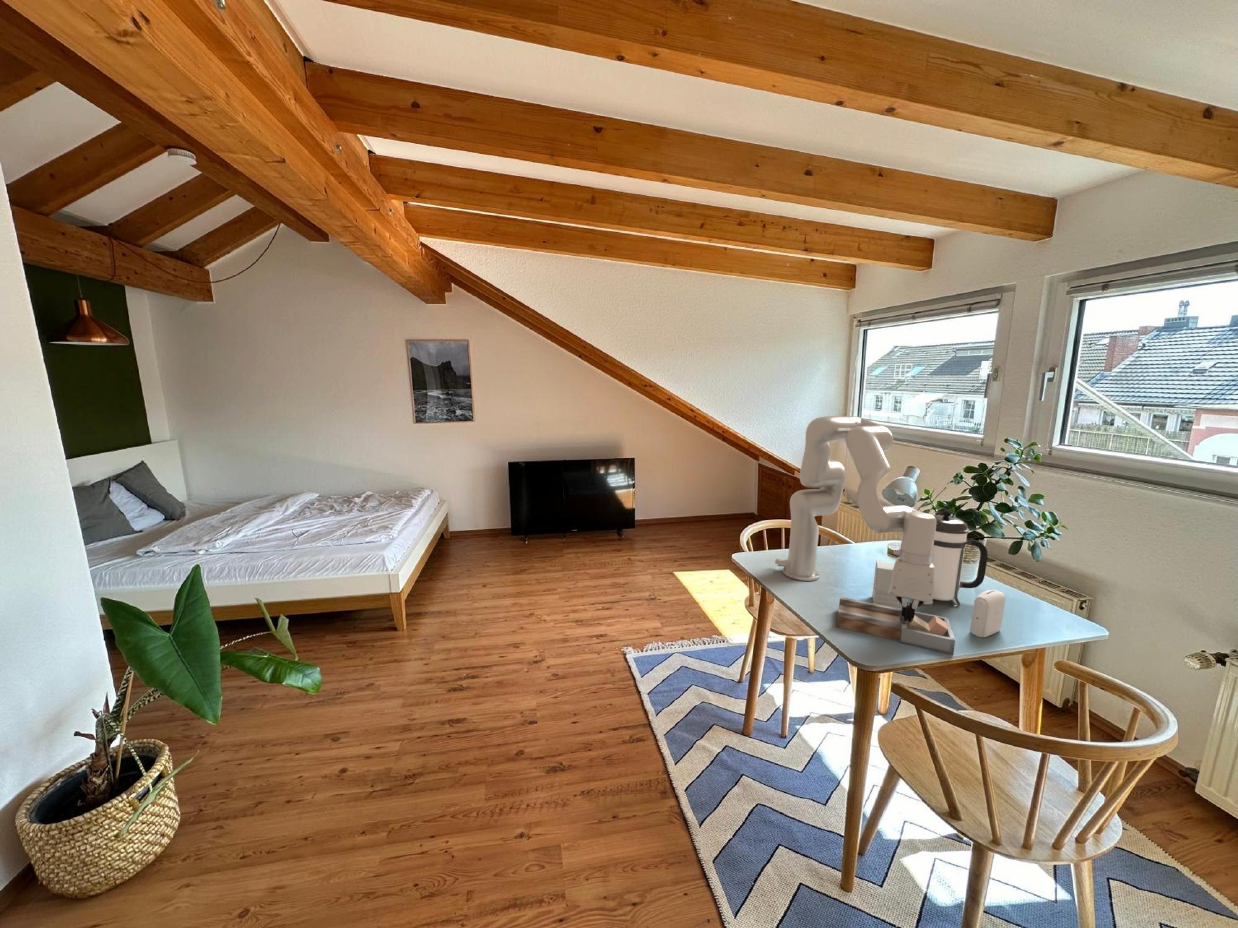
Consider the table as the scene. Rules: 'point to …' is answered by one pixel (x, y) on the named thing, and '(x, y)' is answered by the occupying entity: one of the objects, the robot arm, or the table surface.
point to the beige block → (917, 625)
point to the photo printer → (987, 613)
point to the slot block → (869, 618)
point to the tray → (928, 635)
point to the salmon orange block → (937, 626)
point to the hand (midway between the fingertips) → (907, 619)
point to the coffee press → (953, 558)
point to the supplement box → (883, 585)
